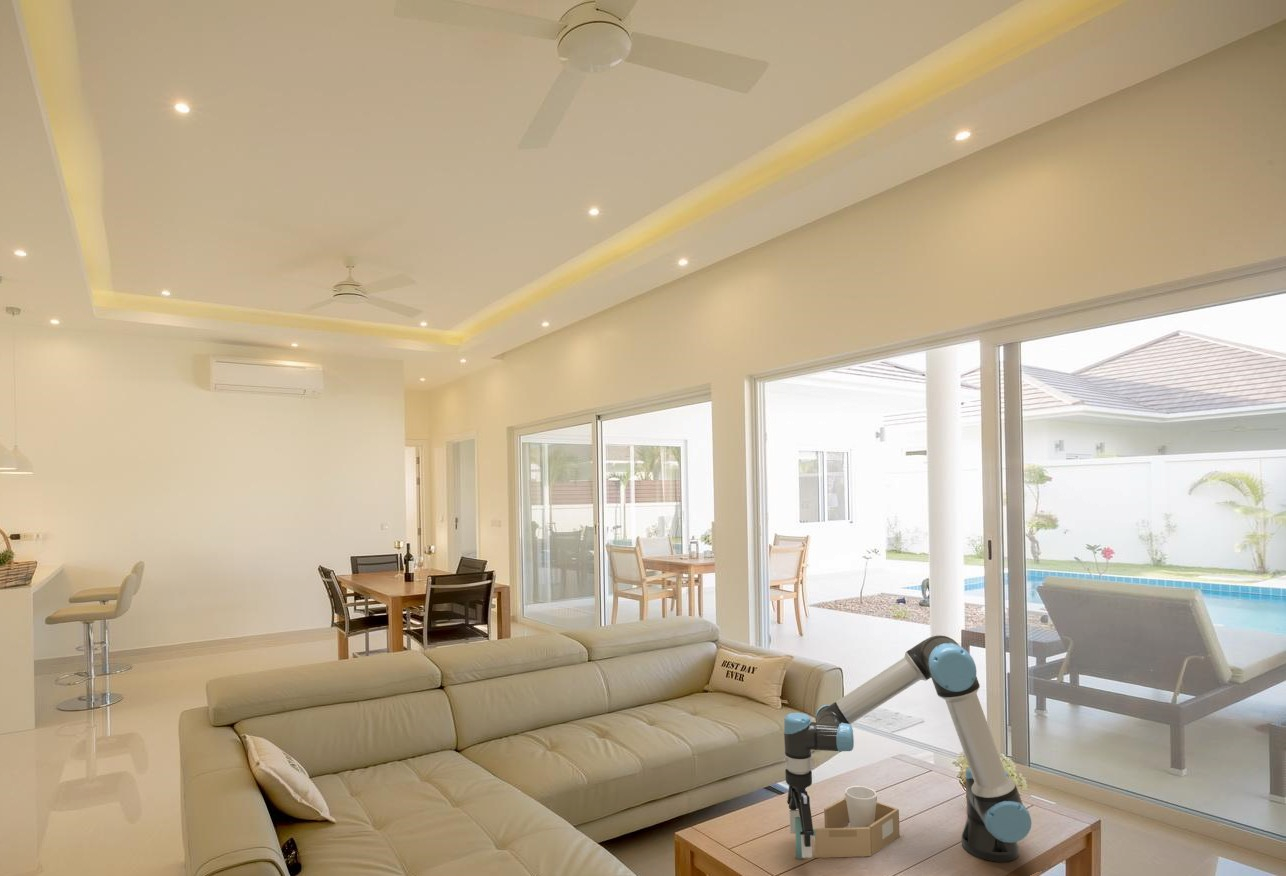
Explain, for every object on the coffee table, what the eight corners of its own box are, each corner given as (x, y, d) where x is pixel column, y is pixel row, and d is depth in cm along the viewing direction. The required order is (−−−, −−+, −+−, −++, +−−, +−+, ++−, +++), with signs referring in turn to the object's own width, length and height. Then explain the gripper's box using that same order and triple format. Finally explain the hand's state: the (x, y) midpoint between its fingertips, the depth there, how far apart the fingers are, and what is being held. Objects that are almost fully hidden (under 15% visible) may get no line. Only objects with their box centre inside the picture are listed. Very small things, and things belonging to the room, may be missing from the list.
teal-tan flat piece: (869, 853, 212) (868, 815, 212) (871, 857, 209) (870, 818, 210) (795, 855, 211) (794, 816, 212) (797, 859, 209) (796, 820, 209)
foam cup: (843, 839, 220) (841, 795, 221) (849, 825, 229) (848, 783, 229) (875, 846, 216) (874, 801, 217) (880, 832, 224) (879, 789, 225)
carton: (899, 836, 222) (899, 809, 222) (872, 855, 211) (871, 827, 211) (853, 818, 234) (852, 792, 234) (824, 835, 223) (824, 808, 223)
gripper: (776, 753, 223) (778, 824, 222) (796, 788, 198) (798, 868, 197) (800, 752, 224) (802, 823, 223) (823, 787, 199) (826, 867, 198)
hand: (800, 844), depth 210 cm, fingers open, 13 cm apart
